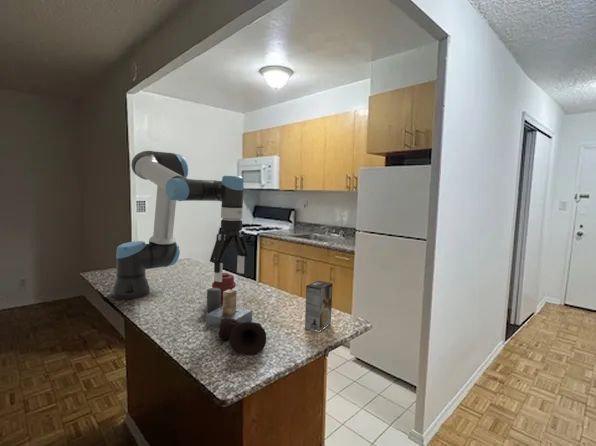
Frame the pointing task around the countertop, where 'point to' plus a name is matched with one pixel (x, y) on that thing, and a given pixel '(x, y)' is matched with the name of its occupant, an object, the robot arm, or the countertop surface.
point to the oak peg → (229, 302)
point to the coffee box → (318, 305)
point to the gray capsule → (213, 299)
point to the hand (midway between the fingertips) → (229, 277)
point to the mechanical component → (224, 284)
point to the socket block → (228, 316)
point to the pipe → (243, 336)
